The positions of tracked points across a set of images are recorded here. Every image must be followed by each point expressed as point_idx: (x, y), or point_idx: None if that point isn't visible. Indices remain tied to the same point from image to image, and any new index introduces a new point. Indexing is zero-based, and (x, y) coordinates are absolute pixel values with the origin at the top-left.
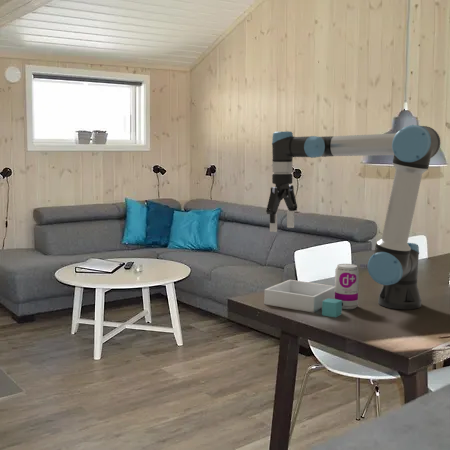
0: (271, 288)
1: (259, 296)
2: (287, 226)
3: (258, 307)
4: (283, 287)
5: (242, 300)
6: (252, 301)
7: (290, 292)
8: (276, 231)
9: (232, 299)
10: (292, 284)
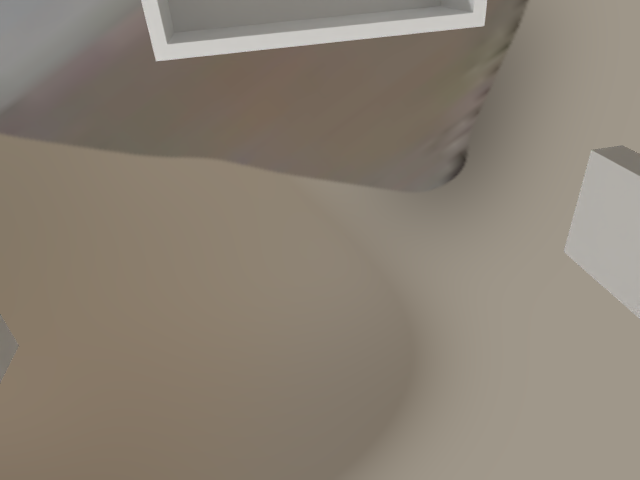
0: (425, 16)
1: (328, 131)
2: (6, 352)
3: (512, 3)
4: (265, 30)
5: (435, 143)
6: (428, 97)
7: (173, 30)
8: (623, 150)
9: (442, 184)
10: (166, 22)
